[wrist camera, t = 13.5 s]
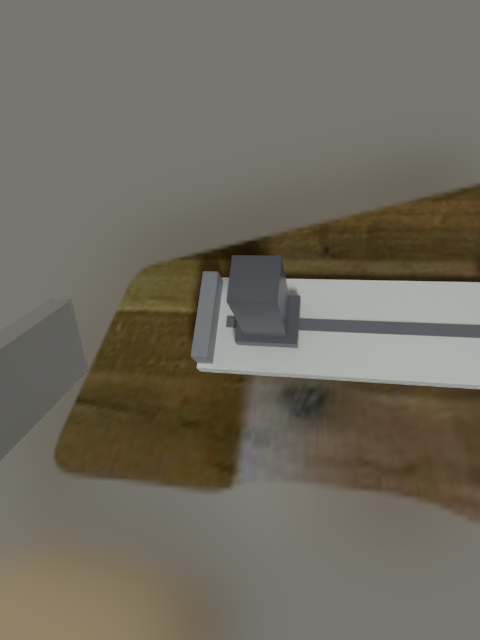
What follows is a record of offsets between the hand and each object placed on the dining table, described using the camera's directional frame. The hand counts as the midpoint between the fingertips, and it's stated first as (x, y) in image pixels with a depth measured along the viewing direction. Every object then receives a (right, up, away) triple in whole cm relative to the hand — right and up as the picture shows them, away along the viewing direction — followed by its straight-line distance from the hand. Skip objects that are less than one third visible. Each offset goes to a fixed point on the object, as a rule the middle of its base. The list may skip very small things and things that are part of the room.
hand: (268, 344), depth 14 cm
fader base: (+10, 0, +30) cm, 32 cm away
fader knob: (+2, +1, +30) cm, 30 cm away
